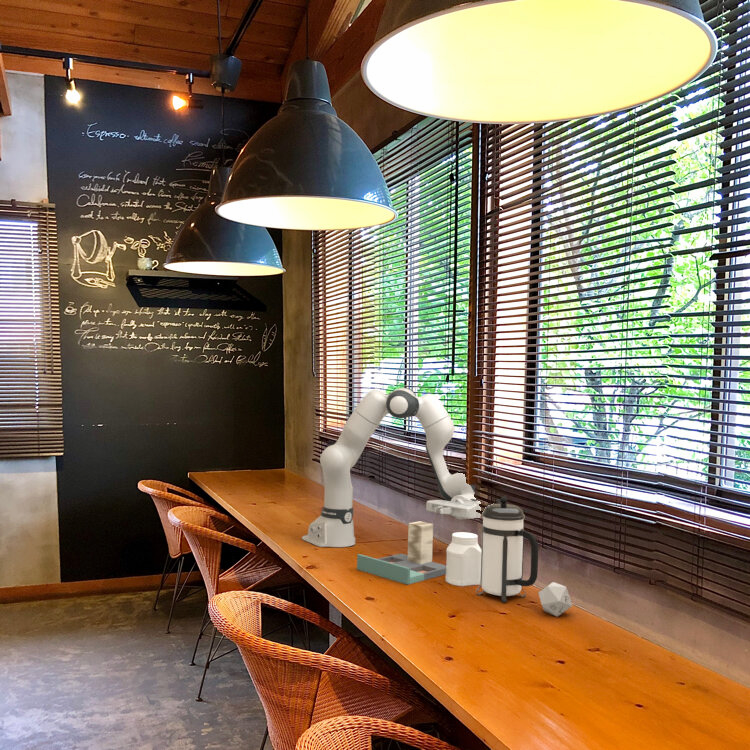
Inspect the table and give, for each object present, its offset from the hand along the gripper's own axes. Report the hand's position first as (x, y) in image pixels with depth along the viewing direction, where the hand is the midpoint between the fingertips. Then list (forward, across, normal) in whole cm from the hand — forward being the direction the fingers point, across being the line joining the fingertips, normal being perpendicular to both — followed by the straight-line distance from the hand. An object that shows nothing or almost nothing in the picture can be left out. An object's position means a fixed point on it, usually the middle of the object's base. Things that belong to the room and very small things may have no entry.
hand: (437, 511), depth 248 cm
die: (+16, +56, +19) cm, 61 cm away
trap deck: (+17, 0, +18) cm, 25 cm away
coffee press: (+14, +38, +19) cm, 45 cm away
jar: (+11, +20, +19) cm, 30 cm away
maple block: (+9, 0, +16) cm, 19 cm away
